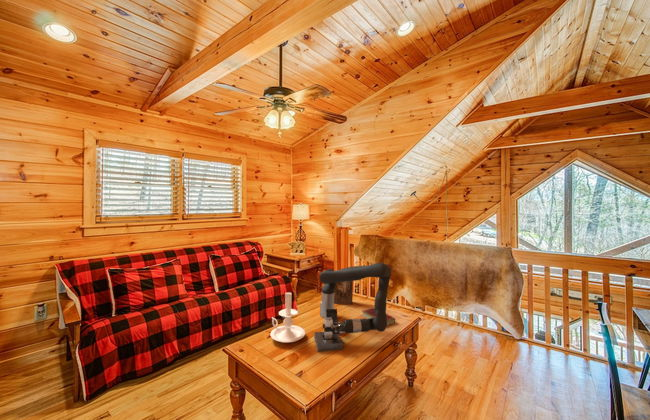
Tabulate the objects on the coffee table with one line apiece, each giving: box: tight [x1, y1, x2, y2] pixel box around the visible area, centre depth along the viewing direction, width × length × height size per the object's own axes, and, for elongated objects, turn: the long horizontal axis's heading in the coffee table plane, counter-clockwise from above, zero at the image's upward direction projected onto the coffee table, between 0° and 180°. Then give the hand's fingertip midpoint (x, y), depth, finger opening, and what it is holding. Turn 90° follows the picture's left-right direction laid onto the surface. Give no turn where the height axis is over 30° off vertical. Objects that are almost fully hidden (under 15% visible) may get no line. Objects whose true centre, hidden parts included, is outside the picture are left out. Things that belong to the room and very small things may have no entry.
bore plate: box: [313, 331, 344, 353], centre depth 157 cm, size 14×14×4 cm
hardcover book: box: [361, 307, 396, 326], centre depth 192 cm, size 12×21×4 cm, turn 33°
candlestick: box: [270, 292, 306, 344], centre depth 164 cm, size 21×25×28 cm
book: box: [334, 281, 354, 305], centre depth 220 cm, size 16×6×25 cm, turn 84°
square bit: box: [323, 317, 333, 340], centre depth 157 cm, size 4×4×14 cm
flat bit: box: [326, 308, 338, 326], centre depth 174 cm, size 7×2×14 cm, turn 100°
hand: (323, 327), depth 156 cm, fingers open, 4 cm apart
